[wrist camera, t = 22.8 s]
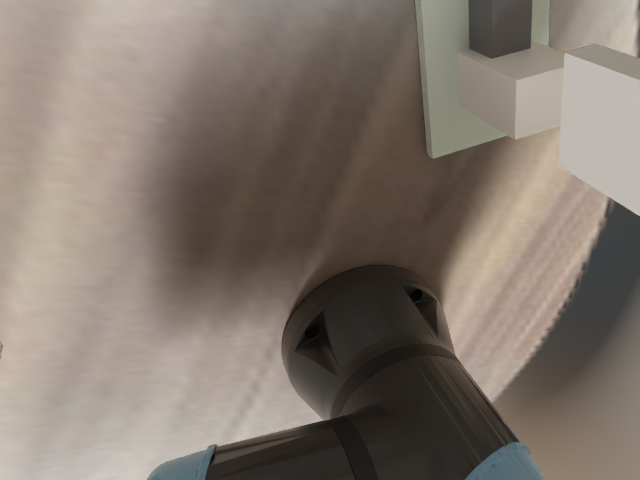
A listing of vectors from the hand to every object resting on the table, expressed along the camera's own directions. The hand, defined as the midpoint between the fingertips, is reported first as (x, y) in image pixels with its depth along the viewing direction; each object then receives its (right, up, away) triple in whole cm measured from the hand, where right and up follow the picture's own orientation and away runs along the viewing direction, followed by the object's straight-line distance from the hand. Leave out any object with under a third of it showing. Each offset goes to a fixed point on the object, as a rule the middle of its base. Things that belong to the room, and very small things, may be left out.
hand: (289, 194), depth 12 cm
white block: (+12, +16, +29) cm, 35 cm away
